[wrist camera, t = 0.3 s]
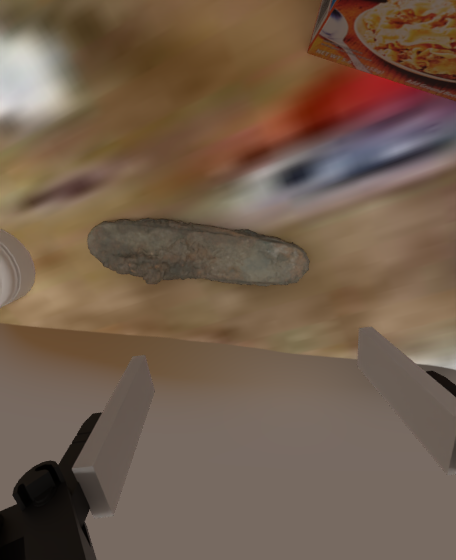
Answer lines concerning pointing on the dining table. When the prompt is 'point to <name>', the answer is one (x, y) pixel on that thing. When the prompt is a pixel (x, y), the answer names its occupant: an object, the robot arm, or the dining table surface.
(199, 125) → the dining table surface
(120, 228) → the long grey stone
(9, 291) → the honey pot
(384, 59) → the pasta box
